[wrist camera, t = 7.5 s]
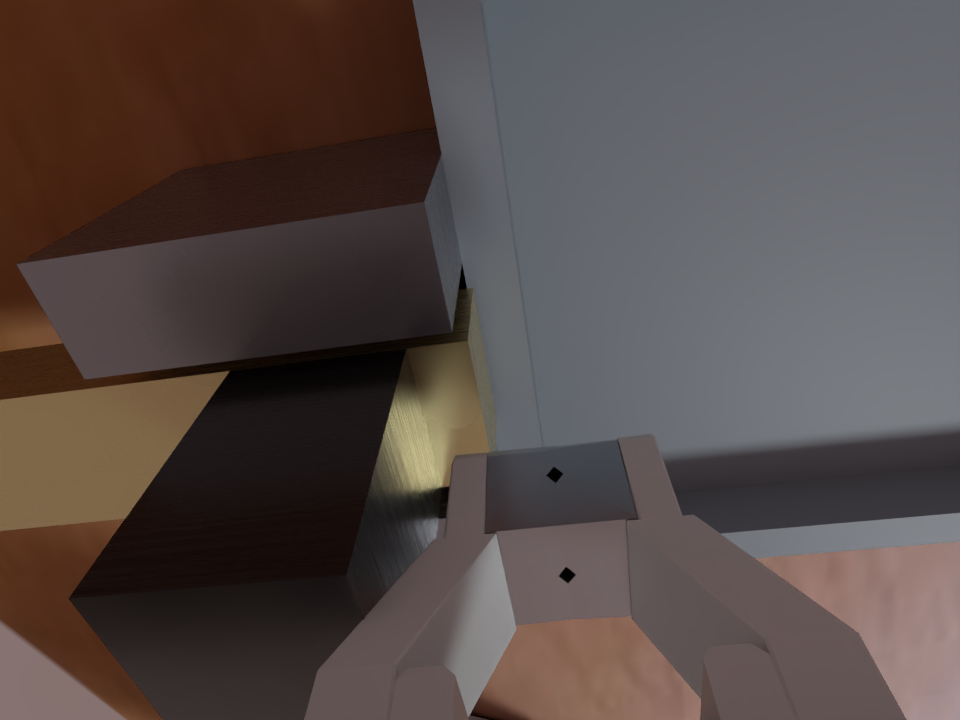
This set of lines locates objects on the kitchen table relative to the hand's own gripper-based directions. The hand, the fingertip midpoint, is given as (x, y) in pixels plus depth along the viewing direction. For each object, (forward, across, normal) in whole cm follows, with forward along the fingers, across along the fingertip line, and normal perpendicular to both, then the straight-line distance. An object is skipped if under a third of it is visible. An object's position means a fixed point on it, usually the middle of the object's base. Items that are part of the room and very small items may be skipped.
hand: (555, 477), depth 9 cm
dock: (+6, -6, 0) cm, 8 cm away
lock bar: (+4, +8, 0) cm, 9 cm away
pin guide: (+6, +4, 0) cm, 8 cm away
